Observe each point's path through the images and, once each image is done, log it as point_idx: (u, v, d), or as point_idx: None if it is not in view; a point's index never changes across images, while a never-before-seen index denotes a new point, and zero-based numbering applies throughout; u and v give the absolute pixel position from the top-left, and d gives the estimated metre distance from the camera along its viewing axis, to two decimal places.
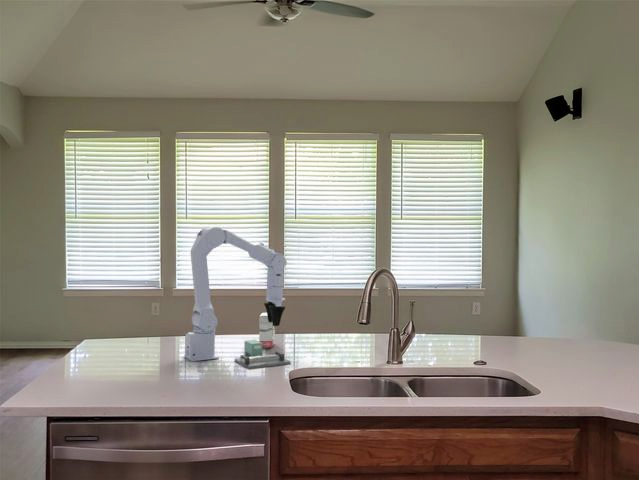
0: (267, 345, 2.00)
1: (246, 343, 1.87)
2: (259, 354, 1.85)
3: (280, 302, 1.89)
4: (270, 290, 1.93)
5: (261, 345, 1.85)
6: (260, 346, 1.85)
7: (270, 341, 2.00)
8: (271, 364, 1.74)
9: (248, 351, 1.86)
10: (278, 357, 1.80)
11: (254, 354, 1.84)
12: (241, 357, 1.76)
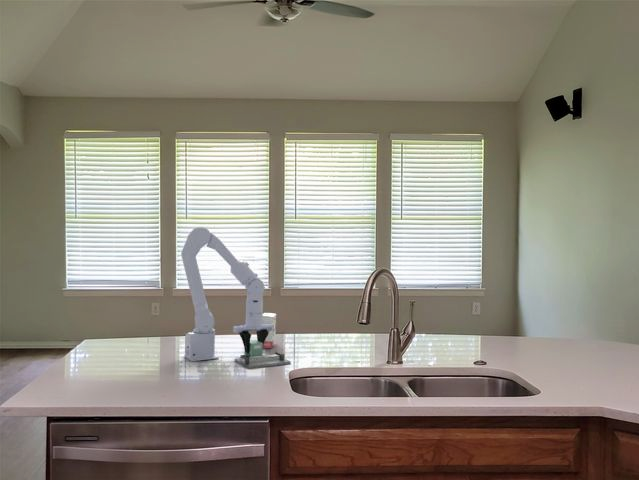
0: (267, 345, 2.00)
1: None
2: (259, 354, 1.85)
3: (234, 329, 1.83)
4: None
5: (261, 344, 1.85)
6: (260, 346, 1.85)
7: (270, 342, 2.00)
8: (271, 364, 1.74)
9: None
10: (278, 357, 1.80)
11: (254, 354, 1.84)
12: (241, 357, 1.76)
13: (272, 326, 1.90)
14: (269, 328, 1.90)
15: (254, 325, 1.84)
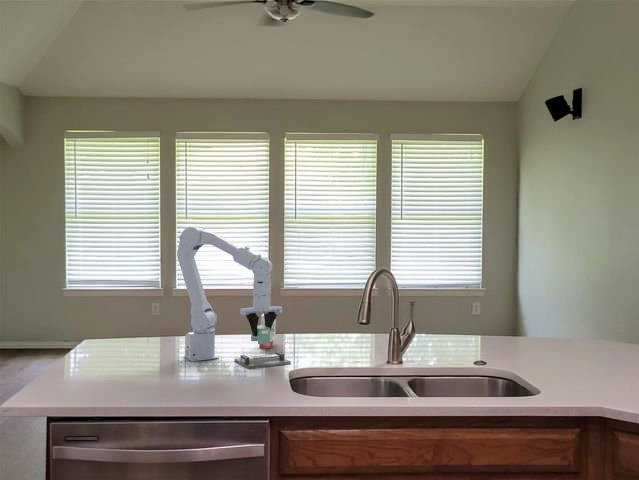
0: (267, 345, 2.00)
1: None
2: (267, 339, 1.79)
3: (242, 311, 1.76)
4: None
5: (269, 330, 1.79)
6: (267, 332, 1.79)
7: (270, 342, 2.00)
8: (271, 364, 1.74)
9: (255, 337, 1.80)
10: (278, 357, 1.80)
11: (262, 339, 1.78)
12: (241, 357, 1.76)
13: (280, 308, 1.83)
14: (277, 311, 1.83)
15: (262, 307, 1.78)
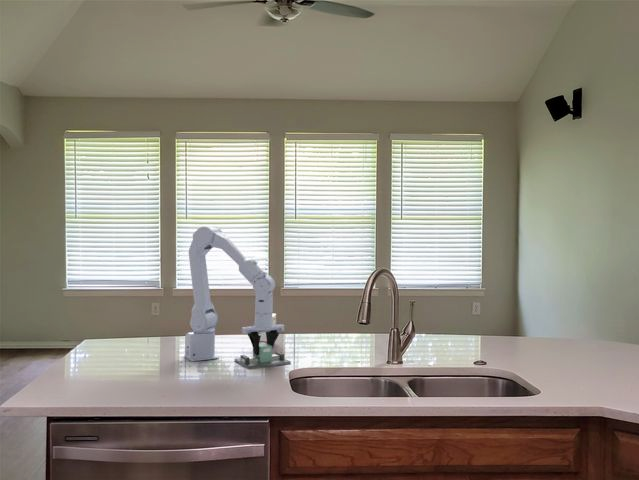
0: None
1: None
2: (268, 358, 1.77)
3: (243, 330, 1.74)
4: None
5: (271, 348, 1.77)
6: (269, 350, 1.77)
7: None
8: (271, 364, 1.74)
9: None
10: (278, 357, 1.80)
11: (263, 357, 1.76)
12: (241, 357, 1.76)
13: (282, 327, 1.81)
14: (279, 329, 1.81)
15: (264, 326, 1.75)
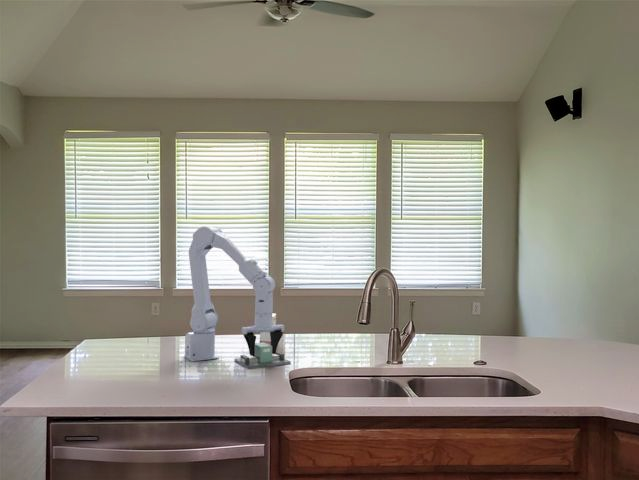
0: None
1: (255, 346, 1.79)
2: (268, 358, 1.77)
3: (243, 330, 1.74)
4: None
5: (271, 348, 1.77)
6: (269, 350, 1.77)
7: (270, 342, 2.00)
8: (271, 364, 1.74)
9: (257, 354, 1.77)
10: (278, 357, 1.80)
11: (263, 357, 1.76)
12: (241, 357, 1.76)
13: (282, 327, 1.81)
14: (279, 329, 1.81)
15: (264, 326, 1.75)
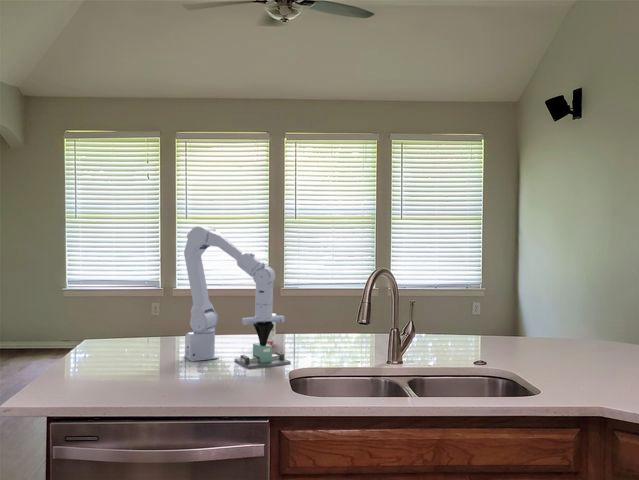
0: None
1: (255, 346, 1.79)
2: (268, 358, 1.77)
3: (243, 321, 1.74)
4: None
5: (271, 348, 1.77)
6: (269, 350, 1.77)
7: (270, 342, 2.00)
8: (271, 364, 1.74)
9: (257, 354, 1.77)
10: (278, 357, 1.80)
11: (263, 357, 1.76)
12: (241, 357, 1.76)
13: (282, 318, 1.81)
14: (279, 320, 1.81)
15: (264, 317, 1.75)
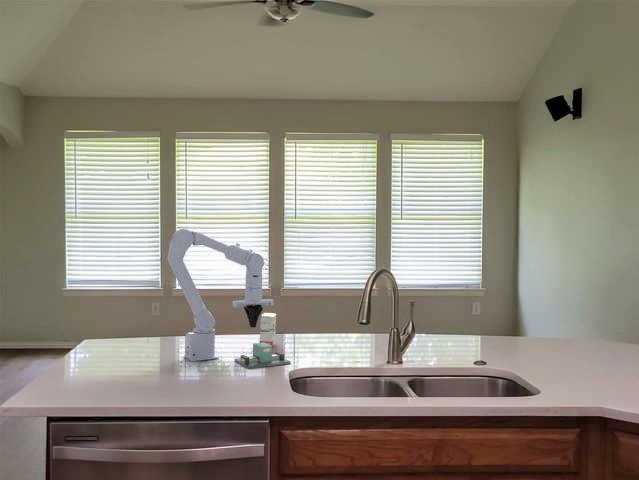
0: None
1: (255, 346, 1.79)
2: (268, 358, 1.77)
3: (234, 303, 1.83)
4: None
5: (271, 348, 1.77)
6: (269, 350, 1.77)
7: (270, 342, 2.00)
8: (271, 364, 1.74)
9: (257, 354, 1.77)
10: (278, 357, 1.80)
11: (263, 357, 1.76)
12: (241, 357, 1.76)
13: (271, 301, 1.90)
14: (268, 303, 1.90)
15: (253, 300, 1.85)
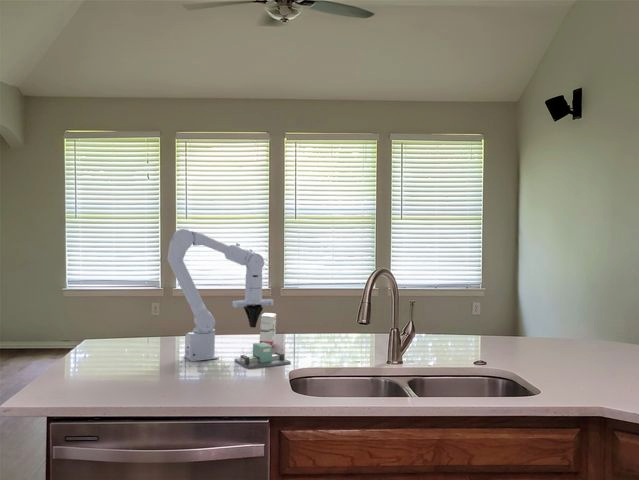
0: None
1: (255, 346, 1.79)
2: (268, 358, 1.77)
3: (234, 303, 1.83)
4: None
5: (271, 348, 1.77)
6: (269, 350, 1.77)
7: (270, 342, 2.00)
8: (271, 364, 1.74)
9: (257, 354, 1.77)
10: (278, 357, 1.80)
11: (263, 357, 1.76)
12: (241, 357, 1.76)
13: (271, 301, 1.90)
14: (268, 303, 1.90)
15: (253, 300, 1.85)
